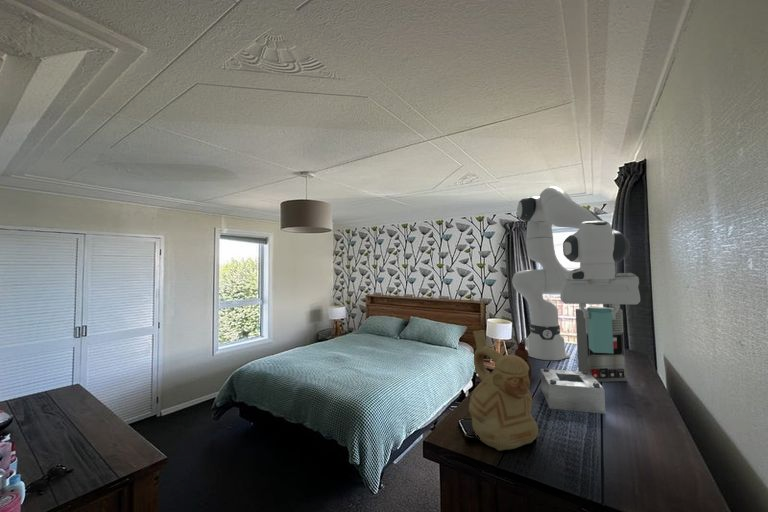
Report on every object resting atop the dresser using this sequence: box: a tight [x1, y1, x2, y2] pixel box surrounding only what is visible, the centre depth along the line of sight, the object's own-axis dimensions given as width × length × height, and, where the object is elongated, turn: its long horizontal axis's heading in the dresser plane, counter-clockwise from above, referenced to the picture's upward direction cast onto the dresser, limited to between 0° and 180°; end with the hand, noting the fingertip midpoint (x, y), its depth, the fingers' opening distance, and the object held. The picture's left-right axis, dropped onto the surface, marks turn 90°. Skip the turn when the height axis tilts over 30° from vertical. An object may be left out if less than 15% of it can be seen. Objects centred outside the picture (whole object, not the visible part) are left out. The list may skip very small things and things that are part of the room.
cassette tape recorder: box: [575, 307, 629, 383], centre depth 113 cm, size 14×6×25 cm, turn 90°
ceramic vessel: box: [468, 329, 539, 452], centre depth 79 cm, size 17×20×25 cm
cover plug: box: [586, 306, 614, 353], centre depth 96 cm, size 6×6×13 cm
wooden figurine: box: [514, 339, 532, 380], centre depth 115 cm, size 7×6×15 cm
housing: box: [540, 367, 607, 415], centre depth 97 cm, size 14×14×8 cm
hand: (599, 318), depth 96 cm, fingers closed on cover plug, 5 cm apart
